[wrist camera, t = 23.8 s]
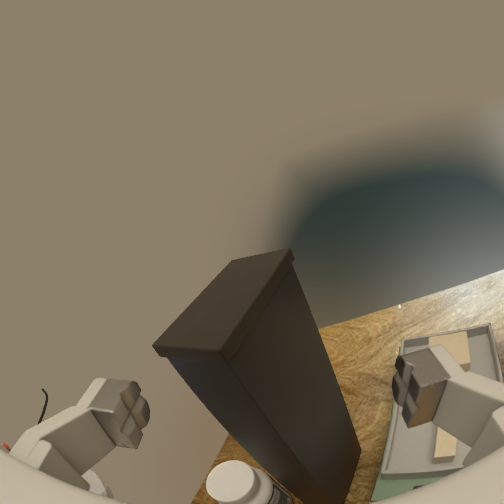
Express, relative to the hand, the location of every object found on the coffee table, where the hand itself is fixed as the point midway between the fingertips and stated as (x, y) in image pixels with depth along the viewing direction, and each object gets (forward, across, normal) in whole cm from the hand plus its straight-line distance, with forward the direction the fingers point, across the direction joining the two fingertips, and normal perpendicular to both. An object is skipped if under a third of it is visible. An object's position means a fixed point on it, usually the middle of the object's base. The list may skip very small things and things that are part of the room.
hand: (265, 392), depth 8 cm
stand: (+9, -5, +25) cm, 27 cm away
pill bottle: (+7, +3, +27) cm, 28 cm away
